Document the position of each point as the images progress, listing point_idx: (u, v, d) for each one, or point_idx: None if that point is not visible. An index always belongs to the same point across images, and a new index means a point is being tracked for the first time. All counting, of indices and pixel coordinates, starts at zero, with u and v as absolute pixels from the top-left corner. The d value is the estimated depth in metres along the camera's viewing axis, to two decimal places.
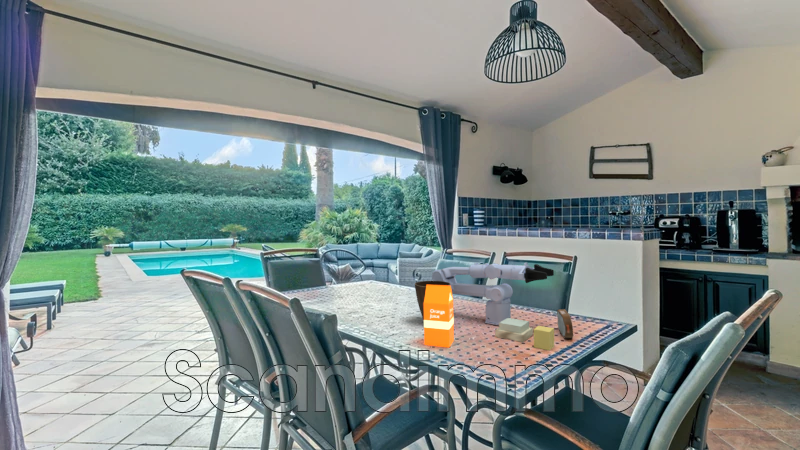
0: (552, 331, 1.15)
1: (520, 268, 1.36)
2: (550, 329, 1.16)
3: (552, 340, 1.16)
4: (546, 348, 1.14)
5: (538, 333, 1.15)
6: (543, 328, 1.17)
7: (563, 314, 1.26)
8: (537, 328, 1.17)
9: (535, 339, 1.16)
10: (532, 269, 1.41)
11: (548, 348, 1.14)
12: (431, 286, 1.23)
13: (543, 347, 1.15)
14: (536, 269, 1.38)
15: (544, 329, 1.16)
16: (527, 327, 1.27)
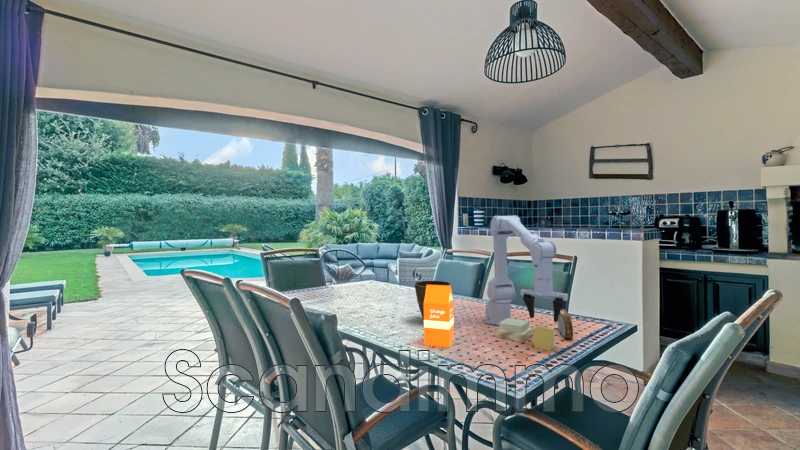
0: (552, 331, 1.15)
1: (535, 288, 1.16)
2: (550, 329, 1.16)
3: (552, 340, 1.16)
4: (546, 348, 1.14)
5: (538, 333, 1.15)
6: (543, 328, 1.17)
7: (563, 314, 1.26)
8: (537, 328, 1.17)
9: (535, 339, 1.16)
10: None
11: (548, 348, 1.14)
12: (431, 286, 1.23)
13: (543, 347, 1.15)
14: None
15: (544, 329, 1.16)
16: (527, 327, 1.27)
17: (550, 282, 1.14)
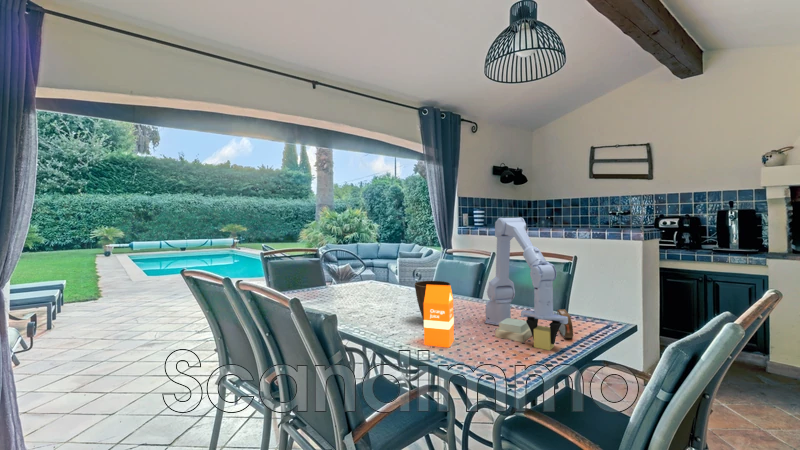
0: None
1: (535, 311, 1.16)
2: None
3: None
4: (546, 348, 1.14)
5: (538, 333, 1.15)
6: (543, 328, 1.17)
7: (563, 314, 1.26)
8: (537, 328, 1.17)
9: (535, 339, 1.16)
10: None
11: (548, 348, 1.13)
12: (431, 286, 1.23)
13: (543, 347, 1.14)
14: None
15: (544, 329, 1.16)
16: (527, 327, 1.27)
17: (551, 305, 1.14)
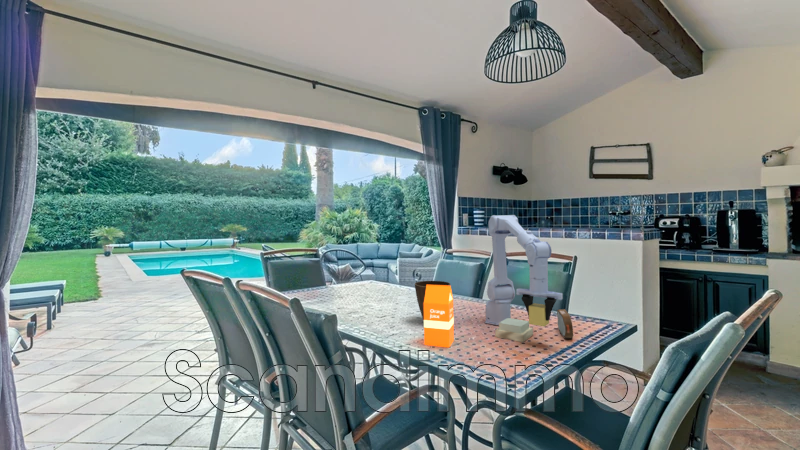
0: None
1: (530, 288, 1.18)
2: None
3: None
4: (541, 324, 1.16)
5: (533, 310, 1.17)
6: (538, 305, 1.19)
7: (563, 314, 1.26)
8: (532, 305, 1.19)
9: (530, 316, 1.18)
10: (554, 295, 1.15)
11: (543, 324, 1.15)
12: (431, 286, 1.23)
13: (538, 323, 1.16)
14: None
15: (539, 306, 1.18)
16: (527, 327, 1.27)
17: (545, 282, 1.16)
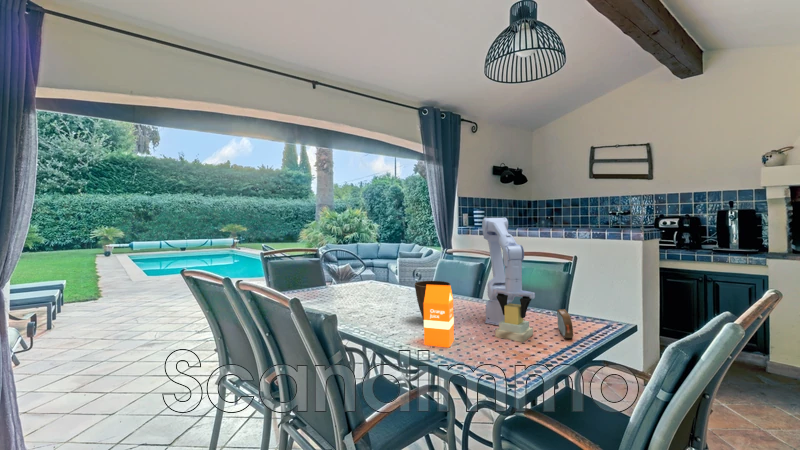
0: None
1: (506, 287, 1.28)
2: (519, 306, 1.27)
3: None
4: (515, 322, 1.25)
5: (508, 309, 1.27)
6: (513, 305, 1.28)
7: (563, 314, 1.26)
8: (508, 305, 1.29)
9: (506, 315, 1.27)
10: (527, 294, 1.24)
11: (517, 322, 1.25)
12: (431, 286, 1.23)
13: (512, 322, 1.26)
14: None
15: (513, 305, 1.28)
16: (527, 327, 1.27)
17: (519, 282, 1.26)
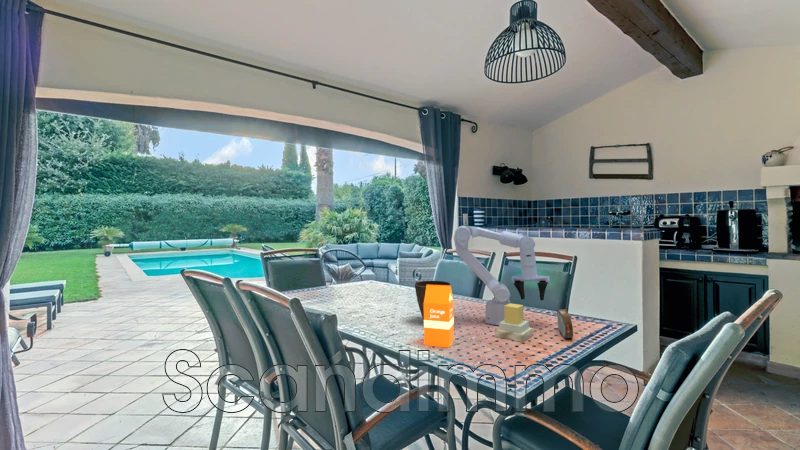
0: (521, 308, 1.27)
1: (522, 274, 1.41)
2: (519, 306, 1.27)
3: (521, 315, 1.27)
4: (515, 322, 1.25)
5: (508, 309, 1.27)
6: (513, 305, 1.28)
7: (563, 314, 1.26)
8: (508, 305, 1.29)
9: (506, 315, 1.27)
10: (542, 278, 1.38)
11: (517, 322, 1.25)
12: (431, 286, 1.23)
13: (512, 322, 1.26)
14: None
15: (513, 305, 1.28)
16: (527, 327, 1.27)
17: (534, 268, 1.39)
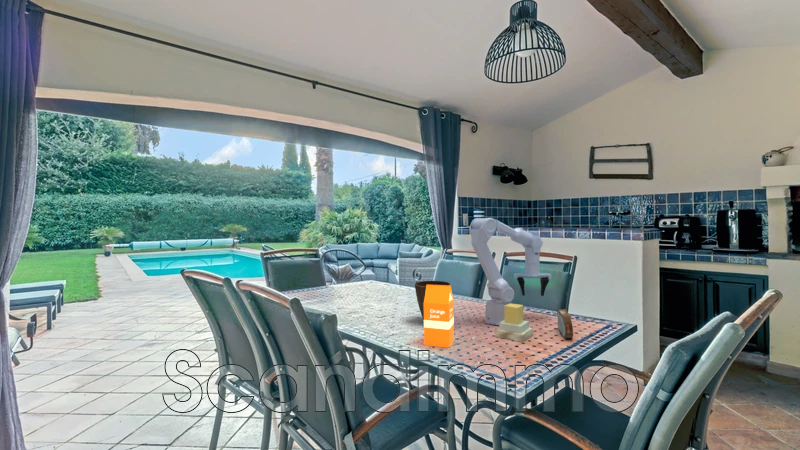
0: (521, 308, 1.27)
1: (528, 271, 1.48)
2: (519, 306, 1.27)
3: (521, 315, 1.27)
4: (515, 322, 1.25)
5: (508, 309, 1.27)
6: (513, 305, 1.28)
7: (563, 314, 1.26)
8: (508, 305, 1.29)
9: (506, 315, 1.27)
10: (545, 275, 1.48)
11: (517, 322, 1.25)
12: (431, 286, 1.23)
13: (512, 322, 1.26)
14: (542, 281, 1.48)
15: (513, 305, 1.28)
16: (527, 327, 1.27)
17: (539, 266, 1.48)
